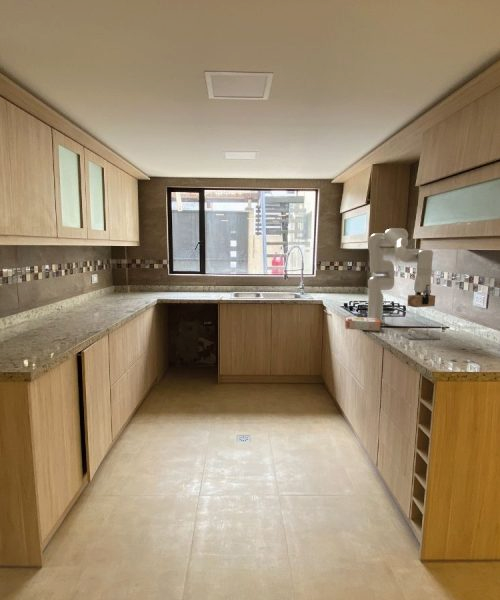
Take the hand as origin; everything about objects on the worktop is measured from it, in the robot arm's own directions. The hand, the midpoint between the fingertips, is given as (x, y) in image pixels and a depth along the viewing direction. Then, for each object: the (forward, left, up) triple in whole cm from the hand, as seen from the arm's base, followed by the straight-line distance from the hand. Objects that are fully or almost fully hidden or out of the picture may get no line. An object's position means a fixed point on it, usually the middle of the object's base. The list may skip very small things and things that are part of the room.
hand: (421, 303), depth 211 cm
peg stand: (0, 0, -20) cm, 20 cm away
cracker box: (-22, -14, -17) cm, 31 cm away
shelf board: (0, 0, -2) cm, 2 cm away
